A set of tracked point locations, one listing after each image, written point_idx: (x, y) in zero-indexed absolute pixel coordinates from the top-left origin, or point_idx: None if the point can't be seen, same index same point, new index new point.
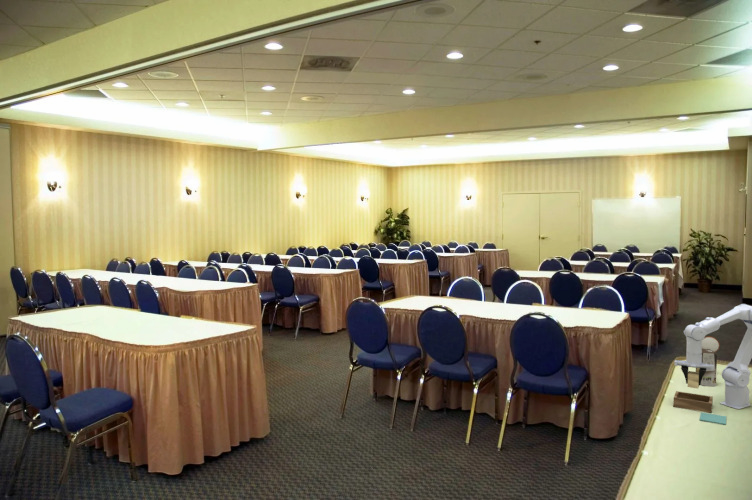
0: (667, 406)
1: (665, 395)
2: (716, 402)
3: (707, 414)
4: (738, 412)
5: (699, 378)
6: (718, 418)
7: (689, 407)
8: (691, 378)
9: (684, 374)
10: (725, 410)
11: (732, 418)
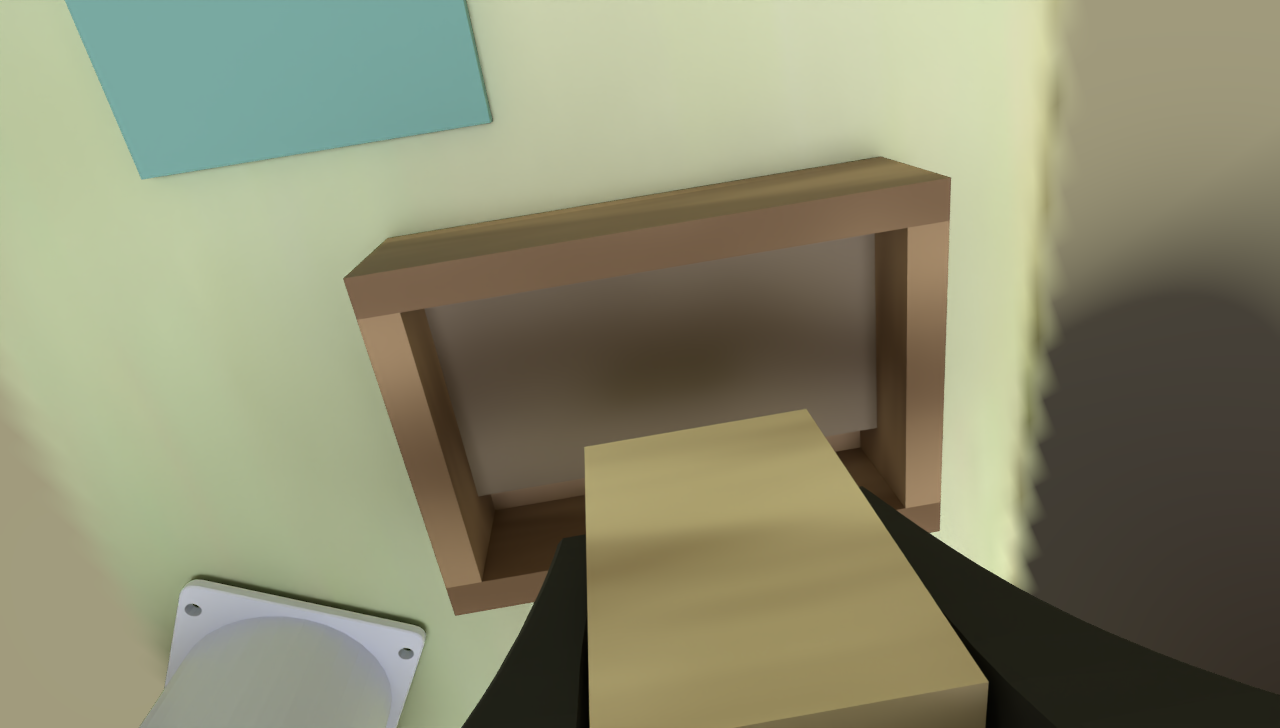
0: (957, 115)
1: (1007, 528)
2: (475, 650)
3: (379, 74)
4: (149, 489)
5: (568, 657)
6: None
7: (672, 198)
8: (793, 573)
9: (1065, 619)
10: (293, 461)
11: (80, 200)
